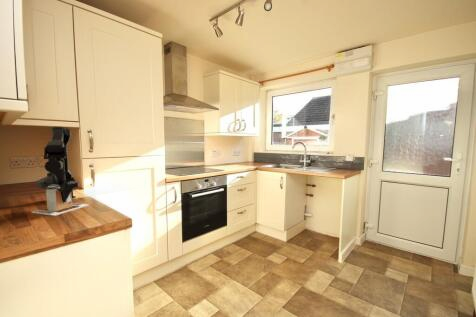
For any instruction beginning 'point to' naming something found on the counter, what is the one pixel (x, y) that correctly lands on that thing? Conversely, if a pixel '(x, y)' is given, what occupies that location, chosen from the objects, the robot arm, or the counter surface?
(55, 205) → the small box
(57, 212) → the bracket
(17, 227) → the counter surface
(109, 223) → the counter surface
